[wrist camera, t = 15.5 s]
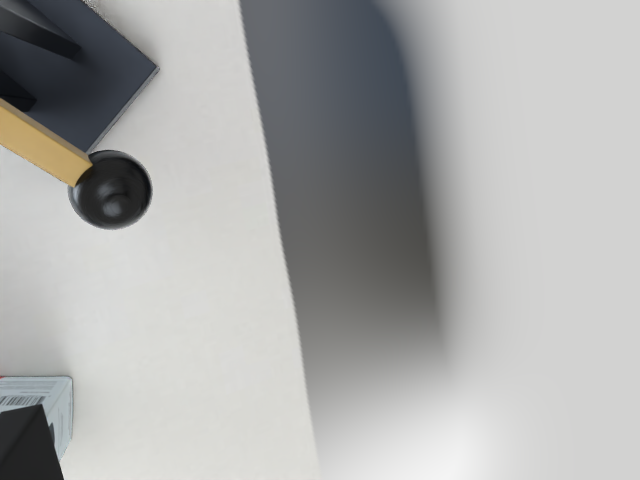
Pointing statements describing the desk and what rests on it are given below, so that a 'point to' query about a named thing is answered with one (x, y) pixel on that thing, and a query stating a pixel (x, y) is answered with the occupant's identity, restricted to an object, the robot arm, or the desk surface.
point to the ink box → (49, 393)
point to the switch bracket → (68, 68)
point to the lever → (82, 171)
